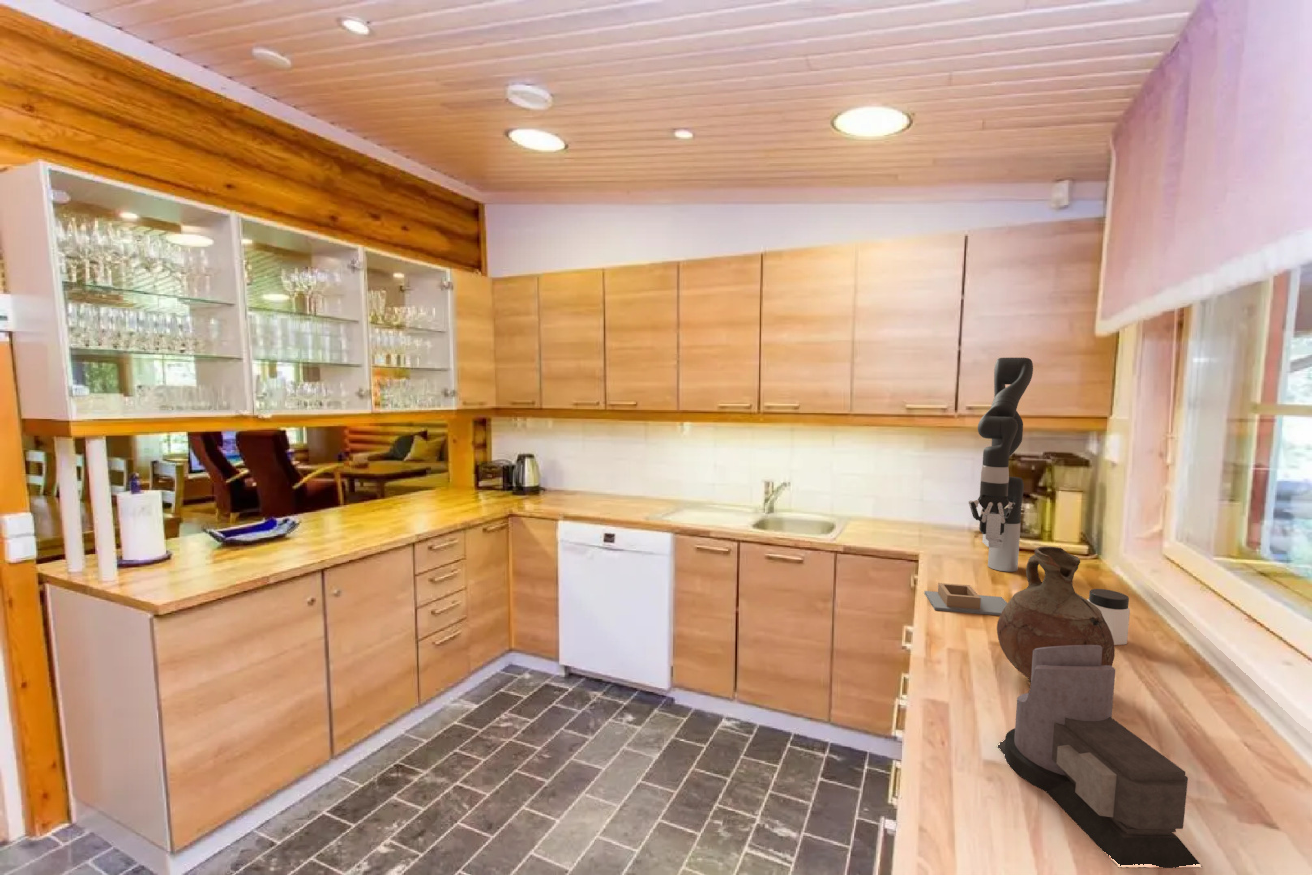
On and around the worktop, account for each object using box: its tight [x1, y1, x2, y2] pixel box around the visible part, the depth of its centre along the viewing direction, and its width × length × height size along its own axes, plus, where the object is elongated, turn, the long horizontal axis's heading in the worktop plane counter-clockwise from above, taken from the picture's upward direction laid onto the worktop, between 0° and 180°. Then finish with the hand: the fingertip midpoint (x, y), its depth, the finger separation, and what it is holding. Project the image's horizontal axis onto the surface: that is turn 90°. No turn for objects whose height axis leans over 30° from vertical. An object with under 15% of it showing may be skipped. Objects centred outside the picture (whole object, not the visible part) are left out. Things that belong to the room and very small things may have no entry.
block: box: [981, 512, 1003, 548], centre depth 182 cm, size 6×4×10 cm, turn 167°
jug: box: [996, 545, 1116, 681], centre depth 128 cm, size 22×22×30 cm
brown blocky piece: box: [997, 645, 1201, 869], centre depth 94 cm, size 30×16×24 cm, turn 0°
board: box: [924, 582, 1008, 617], centre depth 175 cm, size 14×22×4 cm, turn 77°
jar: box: [1086, 588, 1131, 646], centre depth 152 cm, size 9×8×12 cm
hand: (991, 533), depth 184 cm, fingers closed on block, 4 cm apart
